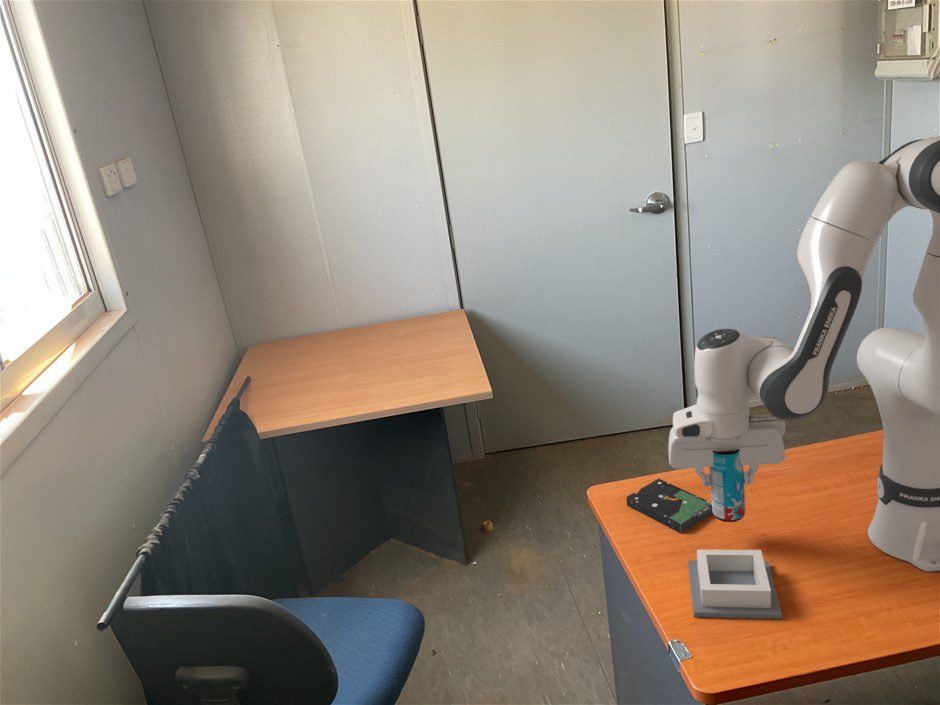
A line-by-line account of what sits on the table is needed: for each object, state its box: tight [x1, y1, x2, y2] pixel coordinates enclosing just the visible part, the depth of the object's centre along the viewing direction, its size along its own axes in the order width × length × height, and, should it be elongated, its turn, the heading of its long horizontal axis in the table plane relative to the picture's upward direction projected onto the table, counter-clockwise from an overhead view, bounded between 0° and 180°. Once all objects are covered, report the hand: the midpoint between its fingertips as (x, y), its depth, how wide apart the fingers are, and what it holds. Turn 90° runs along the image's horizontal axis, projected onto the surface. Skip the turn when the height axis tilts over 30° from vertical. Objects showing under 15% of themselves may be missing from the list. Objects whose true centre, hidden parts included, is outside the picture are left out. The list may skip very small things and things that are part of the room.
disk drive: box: [626, 478, 714, 534], centre depth 160 cm, size 10×3×15 cm
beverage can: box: [708, 449, 746, 523], centre depth 142 cm, size 6×6×15 cm
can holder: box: [687, 549, 783, 620], centre depth 134 cm, size 14×14×4 cm
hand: (727, 483), depth 143 cm, fingers closed on beverage can, 6 cm apart
